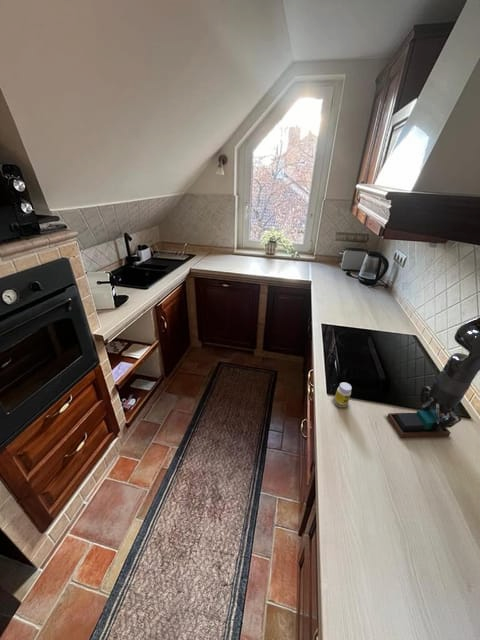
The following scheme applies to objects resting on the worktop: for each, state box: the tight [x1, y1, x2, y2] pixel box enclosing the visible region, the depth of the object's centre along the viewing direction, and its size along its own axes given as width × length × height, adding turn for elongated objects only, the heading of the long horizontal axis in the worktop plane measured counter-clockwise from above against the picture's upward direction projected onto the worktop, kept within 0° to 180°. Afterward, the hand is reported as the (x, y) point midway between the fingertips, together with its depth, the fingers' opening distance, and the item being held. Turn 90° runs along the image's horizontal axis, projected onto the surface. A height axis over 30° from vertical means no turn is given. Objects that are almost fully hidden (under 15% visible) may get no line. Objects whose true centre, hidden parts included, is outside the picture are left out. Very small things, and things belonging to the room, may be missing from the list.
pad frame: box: [386, 412, 452, 439], centre depth 85 cm, size 16×8×2 cm, turn 93°
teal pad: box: [415, 409, 443, 430], centre depth 84 cm, size 6×5×4 cm
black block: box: [394, 412, 424, 433], centre depth 85 cm, size 6×5×4 cm
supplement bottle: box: [333, 381, 353, 408], centre depth 92 cm, size 5×5×8 cm
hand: (428, 422), depth 85 cm, fingers closed on teal pad, 5 cm apart
